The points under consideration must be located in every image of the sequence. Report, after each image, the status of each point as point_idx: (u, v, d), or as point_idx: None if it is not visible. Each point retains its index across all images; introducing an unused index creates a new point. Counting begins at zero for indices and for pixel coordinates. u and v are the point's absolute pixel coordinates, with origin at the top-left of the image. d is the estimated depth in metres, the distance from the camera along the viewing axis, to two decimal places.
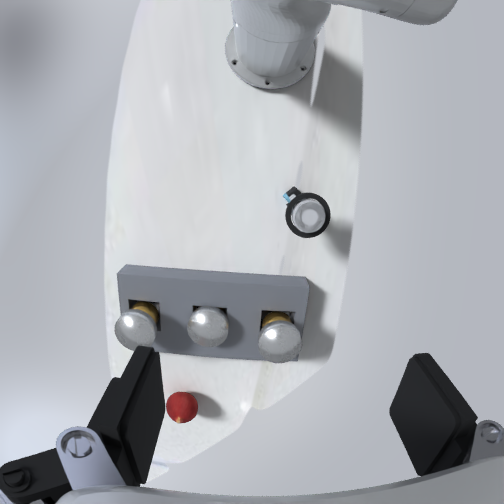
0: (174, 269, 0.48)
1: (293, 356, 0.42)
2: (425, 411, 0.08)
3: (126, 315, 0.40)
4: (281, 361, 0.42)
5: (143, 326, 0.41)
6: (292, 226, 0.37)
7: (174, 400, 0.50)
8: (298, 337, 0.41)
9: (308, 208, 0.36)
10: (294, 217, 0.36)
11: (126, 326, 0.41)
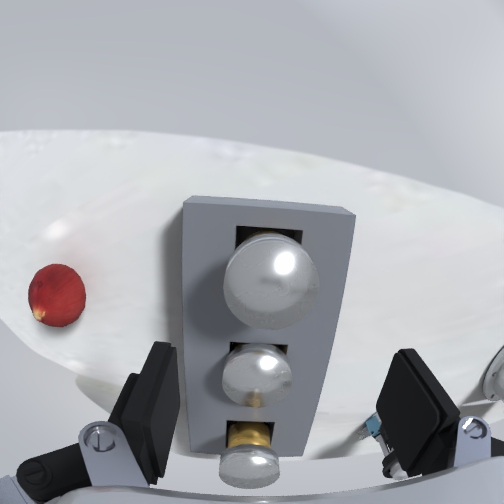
0: None
1: (231, 484, 0.26)
2: (409, 406, 0.09)
3: None
4: (222, 476, 0.25)
5: (290, 313, 0.20)
6: None
7: (71, 293, 0.24)
8: (262, 486, 0.26)
9: None
10: None
11: (291, 273, 0.19)
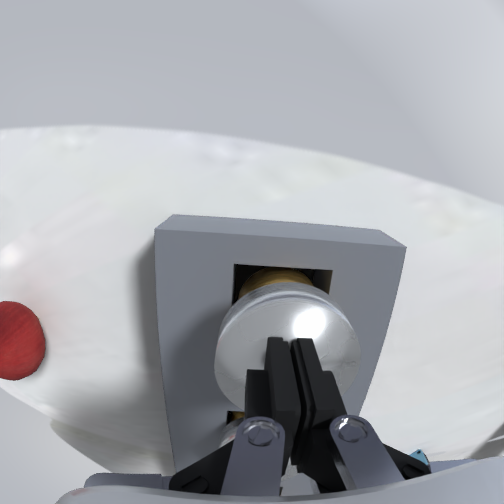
0: None
1: None
2: None
3: None
4: None
5: None
6: None
7: (23, 343, 0.17)
8: None
9: None
10: None
11: (320, 348, 0.12)
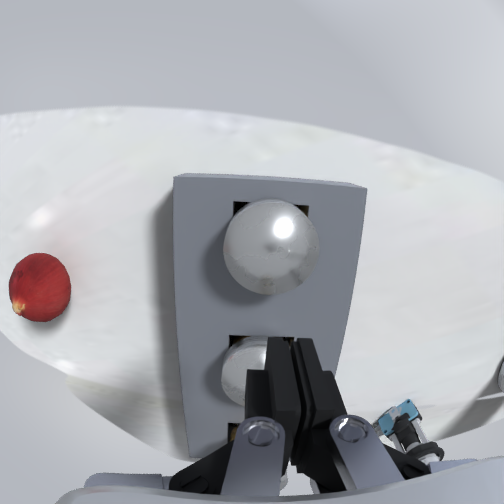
0: None
1: None
2: None
3: (317, 238, 0.19)
4: None
5: (291, 276, 0.20)
6: (417, 458, 0.23)
7: (54, 284, 0.22)
8: None
9: None
10: (429, 460, 0.22)
11: (290, 234, 0.19)
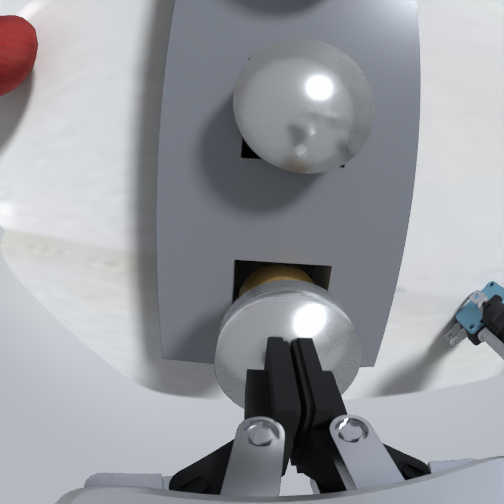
0: None
1: (243, 402, 0.12)
2: None
3: None
4: (221, 373, 0.12)
5: None
6: None
7: (17, 29, 0.11)
8: None
9: None
10: None
11: None
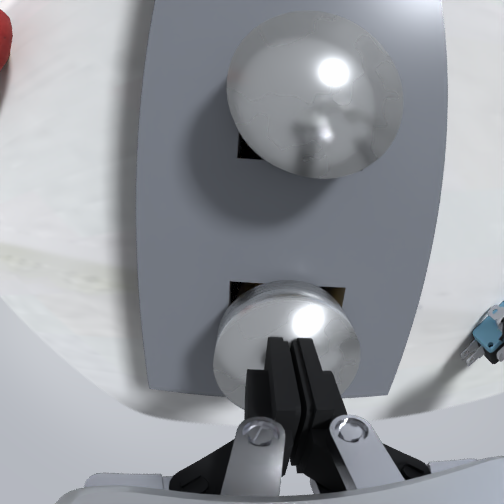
0: None
1: (242, 402, 0.12)
2: None
3: None
4: (220, 373, 0.12)
5: None
6: None
7: None
8: None
9: None
10: None
11: None
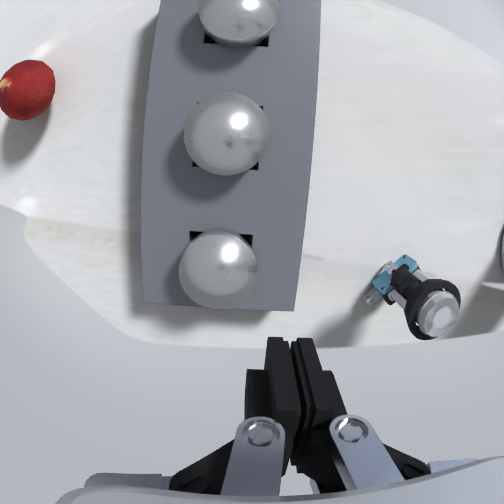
0: None
1: (194, 297, 0.24)
2: None
3: (277, 0, 0.18)
4: (182, 277, 0.23)
5: (256, 24, 0.18)
6: (428, 292, 0.22)
7: (42, 73, 0.19)
8: (236, 303, 0.24)
9: (452, 313, 0.22)
10: (444, 295, 0.21)
11: None
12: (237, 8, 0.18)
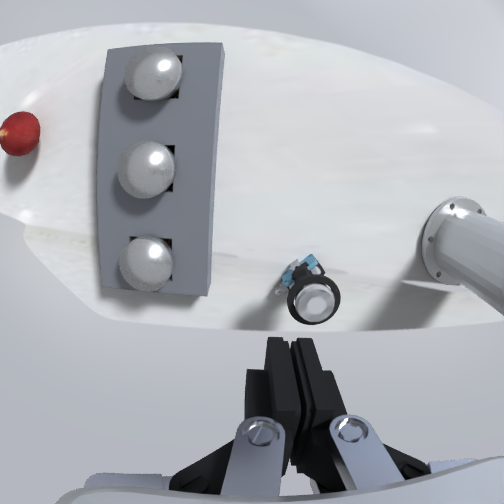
0: (218, 117, 0.34)
1: (130, 282, 0.33)
2: None
3: (179, 63, 0.26)
4: (122, 268, 0.32)
5: (162, 86, 0.27)
6: (302, 284, 0.30)
7: (29, 123, 0.29)
8: (158, 287, 0.33)
9: (327, 303, 0.30)
10: (316, 287, 0.30)
11: (162, 61, 0.26)
12: (150, 74, 0.27)
